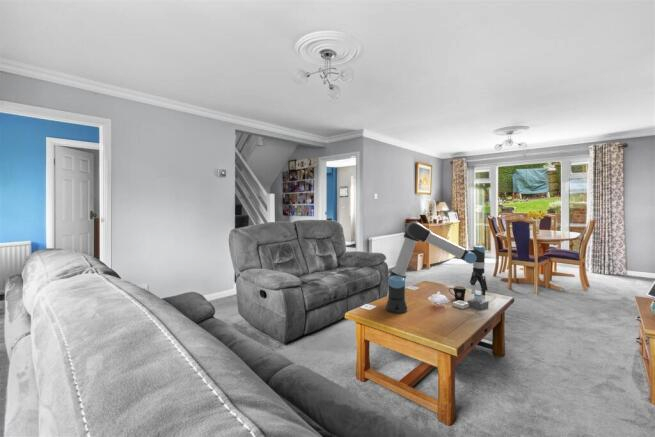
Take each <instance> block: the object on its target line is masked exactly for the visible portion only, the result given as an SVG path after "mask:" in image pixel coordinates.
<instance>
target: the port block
mask: <svg viewBox="0 0 655 437" xmlns="http://www.w3.org/2000/svg"><path fill="white" fill-rule="evenodd" d="M467 303H469V307H470V308H474V309H477V310H484V309H486V308H489V300H486V299H485V300H482V301H481V302H477V301H474V297H473V298H470V299H468V300H467Z"/></svg>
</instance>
